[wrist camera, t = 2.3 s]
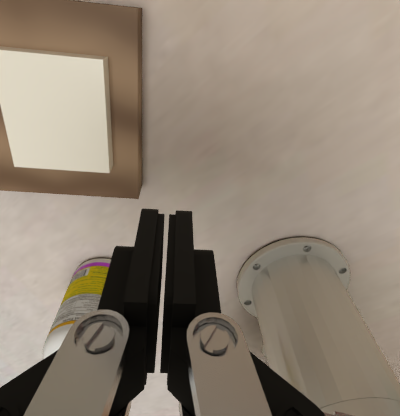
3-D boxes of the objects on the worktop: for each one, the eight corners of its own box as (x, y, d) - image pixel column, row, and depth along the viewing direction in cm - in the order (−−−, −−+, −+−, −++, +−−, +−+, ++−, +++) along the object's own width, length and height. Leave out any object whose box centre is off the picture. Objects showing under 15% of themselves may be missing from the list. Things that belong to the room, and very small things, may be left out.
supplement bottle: (133, 301, 38) (112, 420, 27) (75, 296, 37) (30, 416, 26) (137, 258, 34) (115, 374, 23) (73, 251, 34) (20, 368, 23)
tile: (113, 165, 26) (109, 173, 25) (22, 158, 25) (14, 166, 24) (107, 56, 22) (103, 59, 20) (-1, 46, 21) (-13, 48, 20)
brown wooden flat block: (141, 185, 30) (138, 198, 28) (-41, 173, 28) (-59, 186, 26) (141, 8, 22) (137, 8, 20) (-104, -20, 21) (-137, -23, 19)
